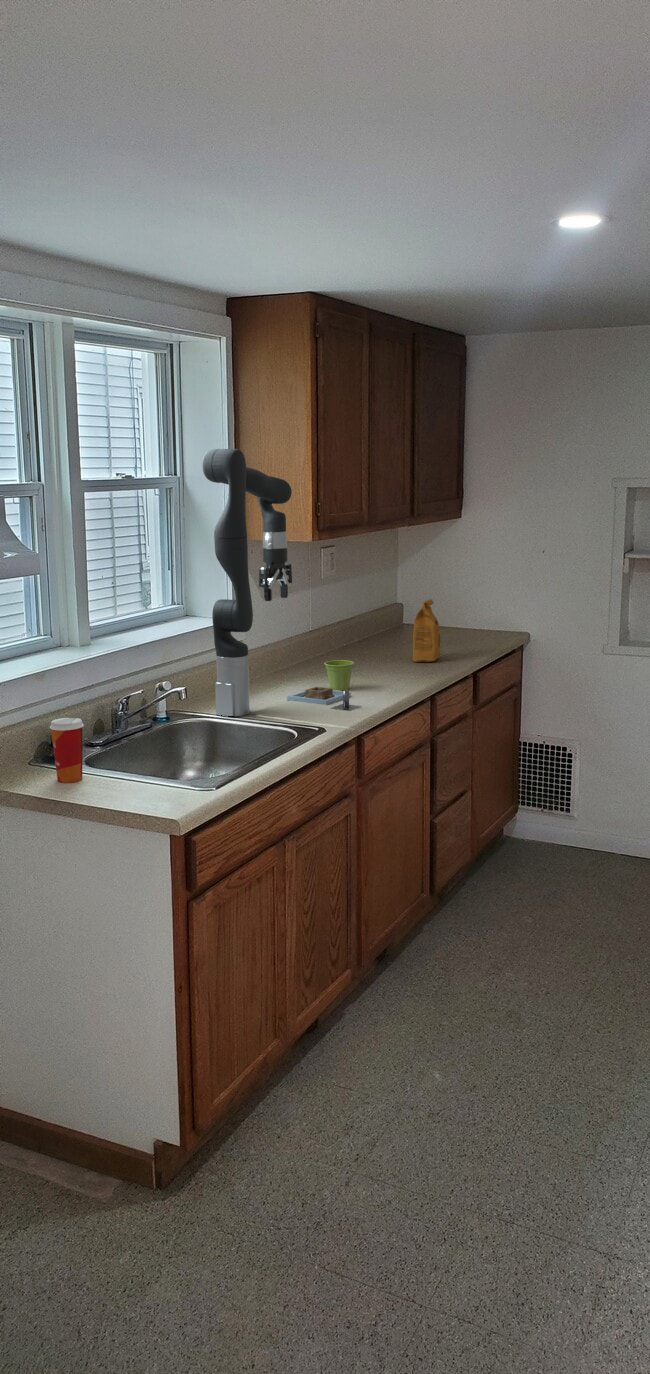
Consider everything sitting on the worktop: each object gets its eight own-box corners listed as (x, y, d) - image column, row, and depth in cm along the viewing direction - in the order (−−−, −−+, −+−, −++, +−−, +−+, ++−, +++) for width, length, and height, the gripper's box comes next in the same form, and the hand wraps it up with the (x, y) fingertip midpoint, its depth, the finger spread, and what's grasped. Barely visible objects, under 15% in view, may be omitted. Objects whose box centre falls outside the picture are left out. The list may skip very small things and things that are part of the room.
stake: (350, 713, 319) (349, 693, 317) (329, 710, 322) (329, 691, 321) (362, 709, 324) (362, 689, 323) (342, 706, 328) (342, 687, 327)
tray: (326, 707, 327) (326, 700, 327) (287, 702, 335) (287, 696, 334) (350, 698, 339) (350, 692, 338) (312, 694, 346) (312, 688, 346)
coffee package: (444, 658, 407) (444, 598, 402) (435, 664, 395) (436, 603, 391) (418, 657, 410) (418, 598, 406) (409, 662, 399) (409, 602, 394)
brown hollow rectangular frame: (305, 699, 336) (305, 689, 335) (316, 696, 340) (316, 686, 340) (327, 702, 331) (327, 692, 331) (338, 698, 336) (338, 689, 336)
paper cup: (63, 774, 260) (60, 716, 257) (92, 776, 258) (89, 717, 255) (46, 783, 253) (42, 723, 250) (76, 785, 250) (72, 725, 248)
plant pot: (348, 692, 348) (348, 665, 346) (320, 691, 351) (320, 664, 349) (358, 687, 356) (357, 660, 354) (330, 685, 359) (330, 659, 358)
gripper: (278, 544, 345) (279, 596, 348) (251, 547, 333) (252, 601, 336) (298, 545, 341) (299, 597, 344) (271, 548, 329) (272, 602, 332)
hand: (276, 599), depth 340 cm, fingers open, 8 cm apart
